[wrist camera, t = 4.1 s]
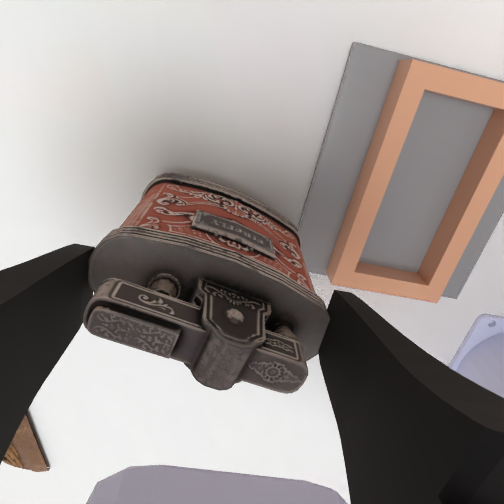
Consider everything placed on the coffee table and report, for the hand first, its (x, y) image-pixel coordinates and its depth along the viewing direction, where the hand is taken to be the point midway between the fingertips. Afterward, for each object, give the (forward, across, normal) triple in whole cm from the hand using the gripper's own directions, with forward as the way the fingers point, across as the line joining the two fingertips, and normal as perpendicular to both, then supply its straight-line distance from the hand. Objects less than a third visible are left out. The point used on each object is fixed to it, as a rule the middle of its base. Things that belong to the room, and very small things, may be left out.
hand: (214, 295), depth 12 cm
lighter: (+7, 0, 0) cm, 7 cm away
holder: (+9, -10, -3) cm, 14 cm away
